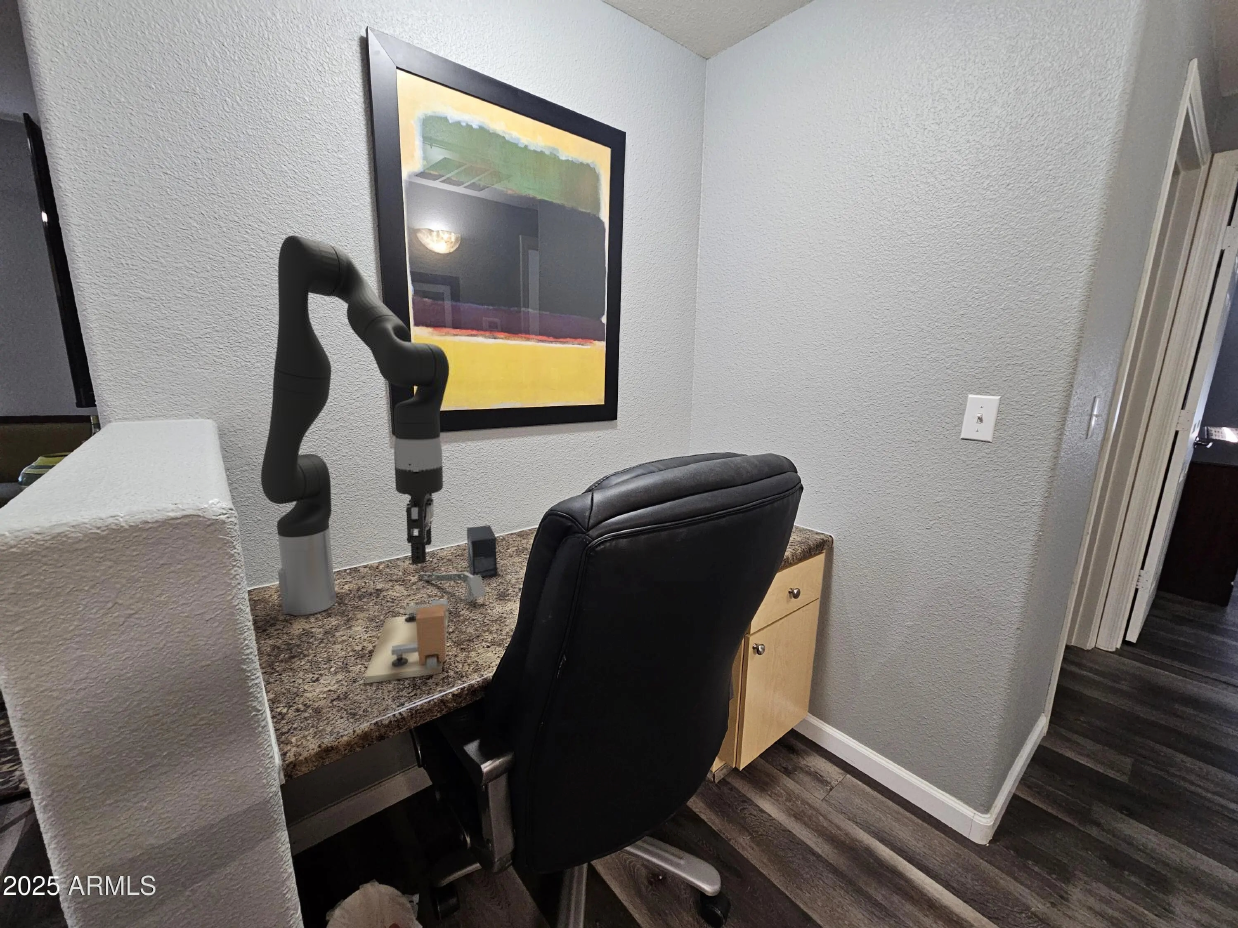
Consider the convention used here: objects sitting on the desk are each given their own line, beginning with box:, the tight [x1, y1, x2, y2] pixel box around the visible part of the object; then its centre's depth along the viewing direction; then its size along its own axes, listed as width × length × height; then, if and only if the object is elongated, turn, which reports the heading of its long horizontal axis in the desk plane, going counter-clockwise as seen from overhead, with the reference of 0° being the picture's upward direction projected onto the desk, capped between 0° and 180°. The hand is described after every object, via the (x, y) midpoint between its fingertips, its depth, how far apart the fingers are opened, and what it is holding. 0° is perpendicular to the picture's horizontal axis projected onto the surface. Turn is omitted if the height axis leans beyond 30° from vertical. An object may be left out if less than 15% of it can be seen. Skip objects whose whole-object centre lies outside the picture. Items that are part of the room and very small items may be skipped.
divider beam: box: [405, 599, 449, 669], centre depth 92 cm, size 8×20×3 cm, turn 16°
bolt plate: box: [363, 611, 449, 684], centre depth 92 cm, size 12×20×1 cm, turn 16°
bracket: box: [419, 571, 487, 603], centre depth 114 cm, size 3×21×10 cm, turn 54°
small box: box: [466, 524, 499, 579], centre depth 126 cm, size 11×6×10 cm, turn 23°
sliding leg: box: [391, 605, 448, 665], centre depth 85 cm, size 9×4×9 cm, turn 106°
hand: (422, 553), depth 86 cm, fingers open, 8 cm apart
